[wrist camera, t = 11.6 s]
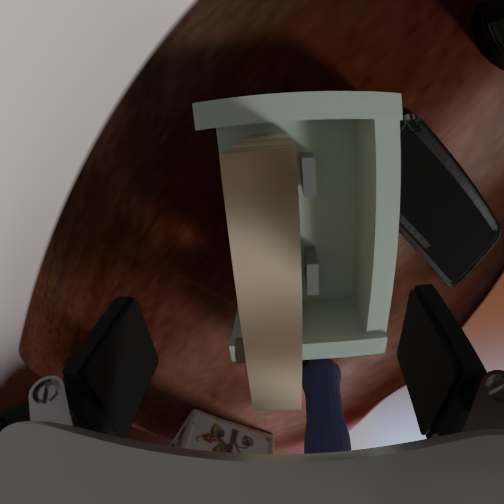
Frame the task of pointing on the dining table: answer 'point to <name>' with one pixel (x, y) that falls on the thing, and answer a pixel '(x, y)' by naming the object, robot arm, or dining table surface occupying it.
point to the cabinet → (332, 205)
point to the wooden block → (266, 265)
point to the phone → (441, 205)
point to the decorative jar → (221, 436)
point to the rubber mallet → (324, 408)
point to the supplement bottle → (490, 30)
